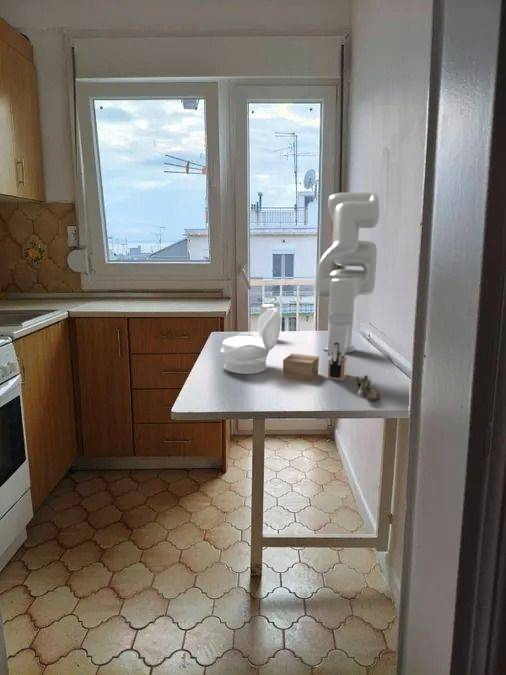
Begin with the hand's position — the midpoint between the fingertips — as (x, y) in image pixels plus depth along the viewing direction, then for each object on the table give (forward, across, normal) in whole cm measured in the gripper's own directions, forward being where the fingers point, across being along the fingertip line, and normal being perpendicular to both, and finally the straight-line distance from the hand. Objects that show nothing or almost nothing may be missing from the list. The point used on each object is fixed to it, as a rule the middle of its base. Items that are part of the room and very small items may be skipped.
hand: (337, 373), depth 140 cm
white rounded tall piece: (+1, -45, -37) cm, 58 cm away
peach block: (+1, 0, 0) cm, 1 cm away
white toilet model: (+2, 0, -29) cm, 29 cm away
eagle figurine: (+2, +15, +10) cm, 18 cm away
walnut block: (+2, +3, -11) cm, 11 cm away
